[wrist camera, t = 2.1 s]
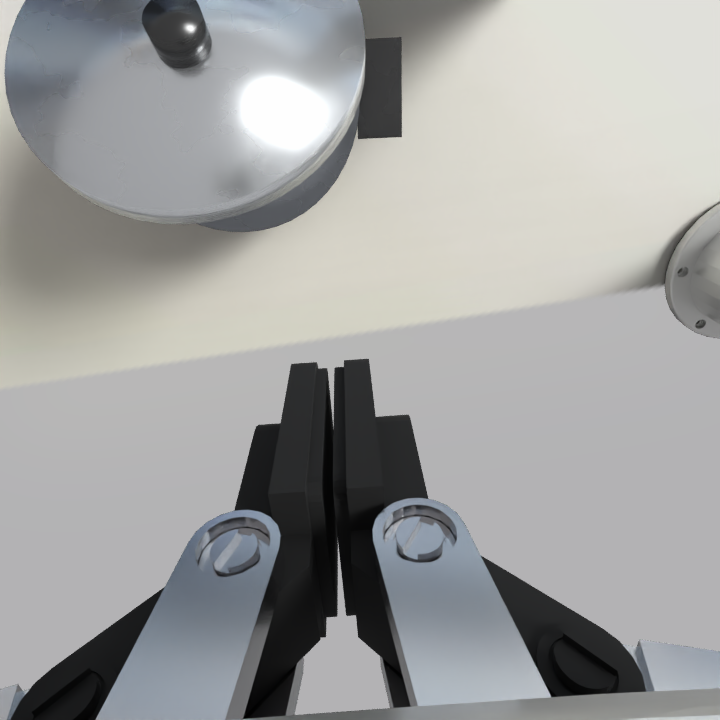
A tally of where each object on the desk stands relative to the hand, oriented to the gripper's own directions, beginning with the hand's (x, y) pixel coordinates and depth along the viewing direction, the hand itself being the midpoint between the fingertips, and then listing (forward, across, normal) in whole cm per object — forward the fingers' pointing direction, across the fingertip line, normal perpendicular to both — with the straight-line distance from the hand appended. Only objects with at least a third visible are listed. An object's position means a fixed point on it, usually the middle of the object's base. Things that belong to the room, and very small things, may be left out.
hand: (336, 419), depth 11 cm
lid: (+17, +6, -8) cm, 20 cm away
